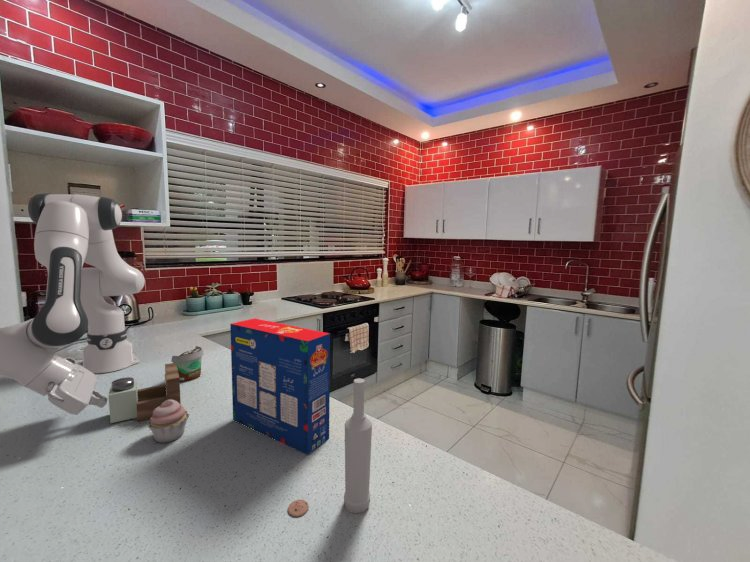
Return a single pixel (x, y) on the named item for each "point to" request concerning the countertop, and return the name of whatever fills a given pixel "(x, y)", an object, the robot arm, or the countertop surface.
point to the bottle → (357, 454)
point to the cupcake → (168, 421)
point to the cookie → (298, 508)
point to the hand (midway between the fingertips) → (105, 403)
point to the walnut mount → (158, 393)
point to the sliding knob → (123, 399)
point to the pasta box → (281, 382)
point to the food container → (189, 364)
